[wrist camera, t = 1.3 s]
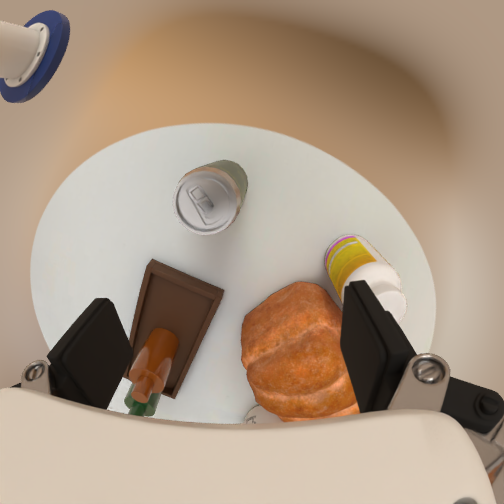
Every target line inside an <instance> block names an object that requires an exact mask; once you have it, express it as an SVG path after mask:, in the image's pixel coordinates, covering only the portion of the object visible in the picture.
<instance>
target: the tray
mask: <svg viewBox="0 0 504 504" xmlns="http://www.w3.org/2000/svg"><path fill="white" fill-rule="evenodd" d="M223 292H224V290H223V289H220V288H218V287H216V286H213V285H211V284H208V283H206V282H204V281H201V280H199V279H197V278H194V277H192V276H190V275H187V274H185V273H183V272H181V271H178V270H176V269H174V268H172V267H169V266H167V265H165V264H163V263H160V262H158V261H156V260H154V259H152V260H151V261H150V262H149V263H148V265H147V267H146V270H145V274H144V278H143V281H142V285H141V289H140V293H139V297H138V302H137V306H136V310H135V314H134V319H133V324H132V328H131V333H130V338H129V342H130V344H131V347H132V349H133V357H132V359H131V361H130V363H129V365H128V367H127V369H126V371H125V373H124V375H123V377H124V378H127V379H128V380H130V378H129V372H130V370H131V368H132V366H133V364H134V362H135V360H136V358H137V356H138V354H139V352H140V350H141V348H142V346H143V344H144V342H145V340H146V339H147V337H148V335H149V333H150V331H151V330H153V329H155V328H164V329H167V330H169V331H171V332H172V333H173V334H175V335H176V337H177V338H178V340H179V344H180V345H179V349H178V351H177V354H176V357H175V360H174V362H173V365H172V368H171V371H170V373H169V376H168V379H167V382H166V385H165V387H164V390H163V391H162V394H163V395H165V396H168V397H170V398H173V399H175V397H176V395H177V393H178V391H179V389H180V387H181V385H182V382H183V380H184V378H185V376H186V374H187V372H188V370H189V367H190V365H191V363H192V361H193V359H194V357H195V355H196V352H197V350H198V348H199V346H200V344H201V342H202V340H203V337H204V335H205V333H206V331H207V329H208V327H209V325H210V323H211V320H212V318H213V316H214V314H215V312H216V310H217V308H218V306H219V304H220V301H221V299H222V296H223ZM130 381H131V380H130Z"/></svg>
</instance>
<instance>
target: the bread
mask: <svg viewBox="0 0 504 504" xmlns="http://www.w3.org/2000/svg"><path fill="white" fill-rule="evenodd" d="M342 314H343V312H342V311H341V310H340V309H339V307H338V306H337V305H336V304H335V303H334V301H333V300H332V298H331V297H330V296H329V294H328V293H327V291H326V290H325V289H323V288H322V287H320V286H319V285H317V284H313V283H307V282H295V283H293V284H291V285H289V286H287V287H285V288H283V289H281V290H279V291H278V292H276V293H274V294H272V295H270V296H269V297H268V298H267V299H266V300H265V301H264V302H263V303H261V304H260V305H259V306H258V307H256V308H255V309H254V310H252V311H251V312H250V313H248V314H247V315H246V316H245V318H244V321H243V324H242V333H241V345H242V356H241V361H242V363H243V366H244V367H245V369H246V370H247V374H246V375H247V379H248V382H249V384H250V386H251V388H252V390H253V393H254V396H255V400H256V402H257V403H258V404H260V405H261V406H262V407H263V408H264V409H265V410H267V411H268V412H271V413H273V414H275V415H277V416H278V417H279V418H280V419H281V421H283V422H295V421H306V420H316V419H324V418H332V417H339V416H345V415H353V414H360V411H359V407H358V404H357V400H356V397H355V393H354V390H353V387H352V384H351V380H350V377H349V374H348V371H347V367H346V364H345V361H344V358H343V355H342V352H341V348H340V335H341V325H342Z"/></svg>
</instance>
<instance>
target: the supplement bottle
mask: <svg viewBox="0 0 504 504" xmlns="http://www.w3.org/2000/svg"><path fill="white" fill-rule="evenodd" d="M325 267H326V270H327V273H328V275H329V277H330V279H331V281H332V283H333V285H334V287H335V289H336V291H337V293H338V296H339V298H340V300H341V302H342V304H343V301H344V288H345V286H349V282H350V281H358V280H365V281H366V282H367V284H368V285H369V287H370V288H371V290H372V291H373V293H374V294H375V296H376V297H377V299H378V300H379V302H380V303H381V305H382V306H383V308H384V310H385V311H389V312H390V313H391V314H392V315H393V317H394V318H395V320H396V322H397V323H399V322H400V321H401V320H402V318H403V317H404V315H405V313H406V309H407V301H406V298H405V296H404V295H403V294H402V292H401V280H400V277H399V275H398V273H397V272H396V270H395V269H394V268H393V267H392V266H391V265H390V264H389V263H388V262H387V261H386V260H385V259H384V258H383V257H382V256H381V255H380V254H379V253H378V251H377V250H376V249H375V248H374V247H373V246H372V245H371V244H370V243H369V242H368V241H367V240H365V239H364V238H363V237H361V236H358V235H345V236H342V237H340V238H338V239H336V240H335V241H334V242H333V243H332V244H331V245H330V246H329V248H328V250H327V252H326V255H325Z"/></svg>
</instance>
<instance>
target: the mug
mask: <svg viewBox="0 0 504 504" xmlns="http://www.w3.org/2000/svg"><path fill="white" fill-rule="evenodd" d="M282 422H283V421H281V419H280V418H279V417H278V416H277V415H275V414H273V413H271V412H268V411H267V410H265V409H264V408H263V407H262V406H261V405H259V406H256V407H254V408H253V409H251V410H250V411H249V413H248V414H247V416H246V418H245V421H244V422H243V423H241V424H264V423H282Z"/></svg>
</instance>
